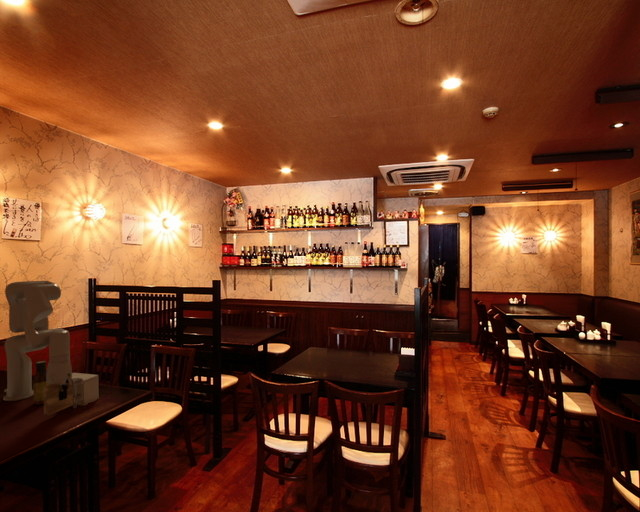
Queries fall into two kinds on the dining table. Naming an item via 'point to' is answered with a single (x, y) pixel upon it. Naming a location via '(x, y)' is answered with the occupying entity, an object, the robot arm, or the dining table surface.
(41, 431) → the dining table surface
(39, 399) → the sauce bottle
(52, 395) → the door
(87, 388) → the white box
